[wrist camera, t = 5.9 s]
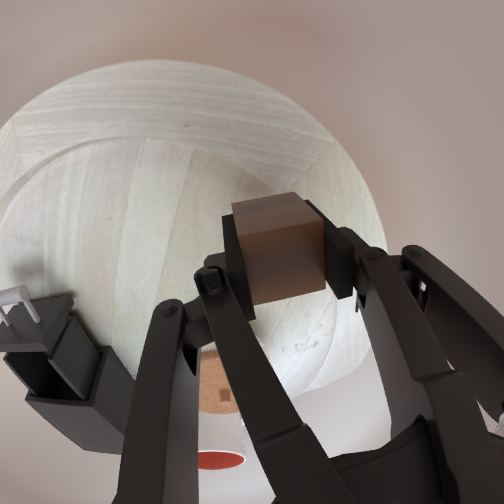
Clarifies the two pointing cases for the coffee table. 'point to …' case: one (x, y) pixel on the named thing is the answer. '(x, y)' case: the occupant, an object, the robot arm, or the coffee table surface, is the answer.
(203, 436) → the cup
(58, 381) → the pull-out drawer
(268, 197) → the block
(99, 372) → the dark drawer box
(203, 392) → the trinket box
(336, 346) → the coffee table surface
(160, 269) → the coffee table surface
